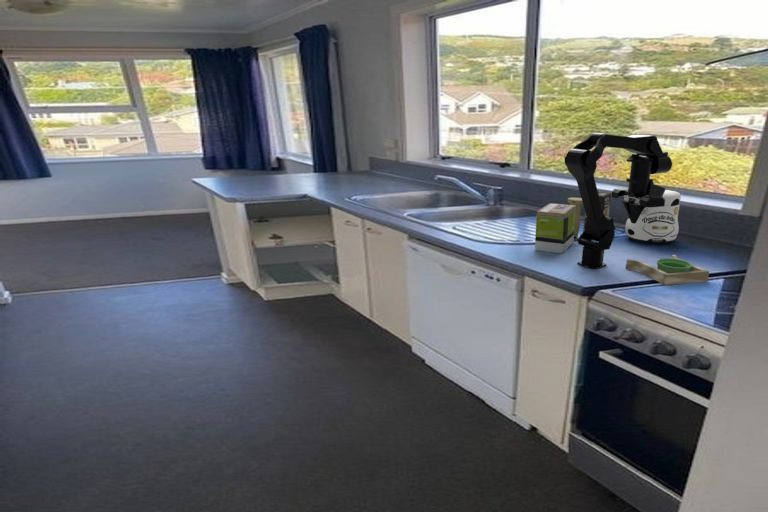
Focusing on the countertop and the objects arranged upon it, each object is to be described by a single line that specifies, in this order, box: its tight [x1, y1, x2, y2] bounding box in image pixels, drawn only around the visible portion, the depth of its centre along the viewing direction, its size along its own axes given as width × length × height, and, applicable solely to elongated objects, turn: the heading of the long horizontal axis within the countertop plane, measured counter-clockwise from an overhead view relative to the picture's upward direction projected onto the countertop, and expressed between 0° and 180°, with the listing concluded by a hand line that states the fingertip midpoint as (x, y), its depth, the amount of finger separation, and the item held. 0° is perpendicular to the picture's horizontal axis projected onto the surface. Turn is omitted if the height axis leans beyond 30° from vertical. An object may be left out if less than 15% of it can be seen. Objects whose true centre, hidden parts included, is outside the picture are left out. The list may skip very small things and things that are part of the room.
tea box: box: [534, 202, 576, 254], centre depth 172 cm, size 15×10×15 cm
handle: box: [567, 197, 583, 238], centre depth 184 cm, size 5×6×15 cm
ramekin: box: [656, 257, 693, 274], centre depth 142 cm, size 9×9×4 cm
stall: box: [625, 254, 710, 286], centre depth 144 cm, size 16×17×3 cm
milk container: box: [625, 189, 681, 244], centre depth 176 cm, size 17×17×18 cm
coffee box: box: [582, 191, 612, 233], centre depth 186 cm, size 9×6×16 cm
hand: (633, 223), depth 156 cm, fingers closed
